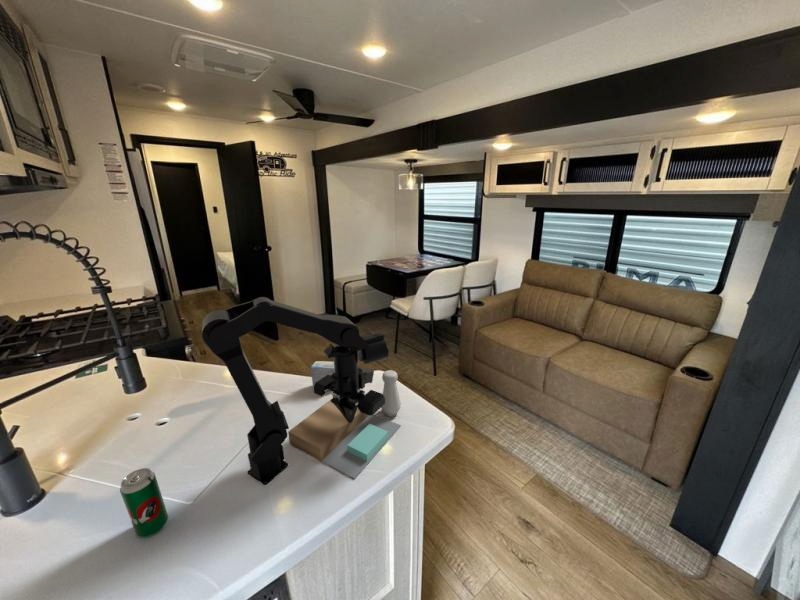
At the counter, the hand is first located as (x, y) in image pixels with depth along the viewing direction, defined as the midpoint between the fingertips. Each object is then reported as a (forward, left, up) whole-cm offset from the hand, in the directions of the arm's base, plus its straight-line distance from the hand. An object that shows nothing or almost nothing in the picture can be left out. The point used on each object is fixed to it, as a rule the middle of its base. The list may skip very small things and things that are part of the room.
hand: (350, 421), depth 82 cm
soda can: (-38, +18, -5) cm, 42 cm away
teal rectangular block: (0, -6, -2) cm, 6 cm away
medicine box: (+14, +22, -5) cm, 27 cm away
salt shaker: (+14, -4, -5) cm, 15 cm away
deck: (0, +6, -5) cm, 8 cm away
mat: (0, -4, -5) cm, 6 cm away
